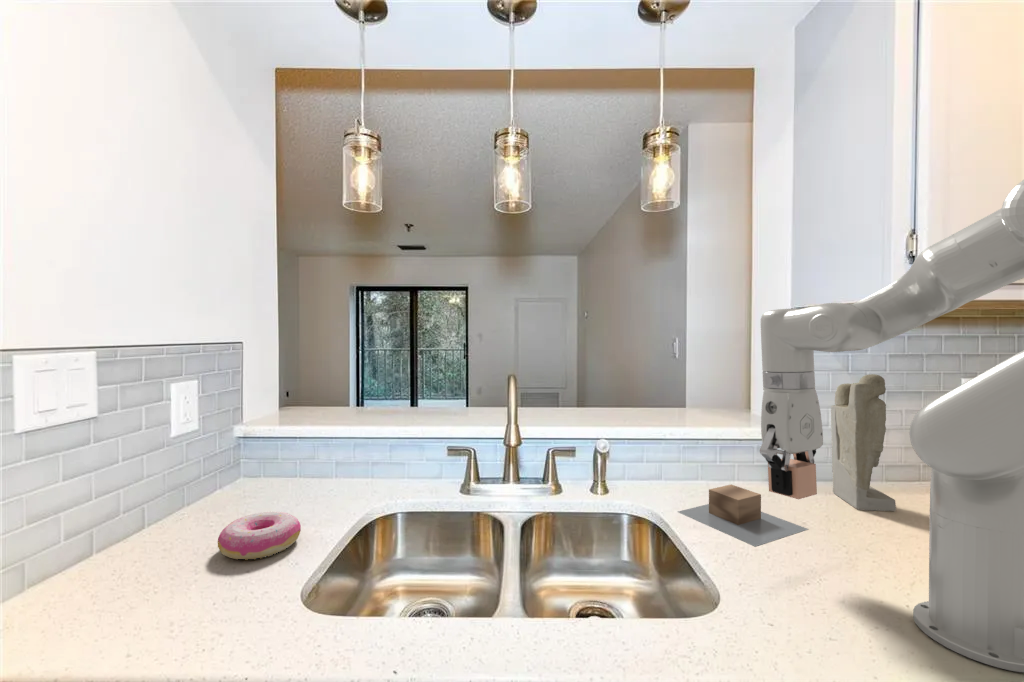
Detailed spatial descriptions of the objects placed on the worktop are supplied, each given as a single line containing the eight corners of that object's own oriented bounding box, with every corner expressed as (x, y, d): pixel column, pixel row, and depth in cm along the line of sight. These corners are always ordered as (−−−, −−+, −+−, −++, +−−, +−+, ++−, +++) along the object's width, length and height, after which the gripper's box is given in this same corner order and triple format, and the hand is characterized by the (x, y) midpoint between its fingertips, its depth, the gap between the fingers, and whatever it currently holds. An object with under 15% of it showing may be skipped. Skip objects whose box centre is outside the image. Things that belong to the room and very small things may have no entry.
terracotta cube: (816, 494, 75) (815, 463, 75) (798, 499, 73) (797, 468, 73) (787, 486, 80) (785, 457, 80) (768, 491, 77) (767, 461, 77)
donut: (271, 568, 76) (271, 539, 76) (198, 564, 78) (197, 535, 78) (314, 533, 90) (313, 508, 90) (250, 531, 91) (250, 506, 91)
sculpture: (904, 517, 96) (906, 376, 96) (861, 514, 98) (862, 375, 98) (865, 493, 111) (866, 370, 111) (828, 490, 113) (828, 370, 112)
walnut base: (760, 518, 93) (761, 494, 93) (738, 525, 90) (738, 500, 90) (731, 507, 100) (731, 484, 100) (708, 512, 97) (708, 489, 97)
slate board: (808, 534, 88) (808, 529, 88) (755, 552, 81) (755, 546, 81) (727, 503, 104) (727, 499, 104) (677, 516, 97) (677, 511, 97)
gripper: (778, 386, 69) (783, 506, 69) (841, 380, 77) (845, 488, 77) (734, 383, 76) (738, 493, 76) (796, 378, 84) (800, 477, 83)
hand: (792, 489), depth 76 cm, fingers closed on terracotta cube, 5 cm apart
